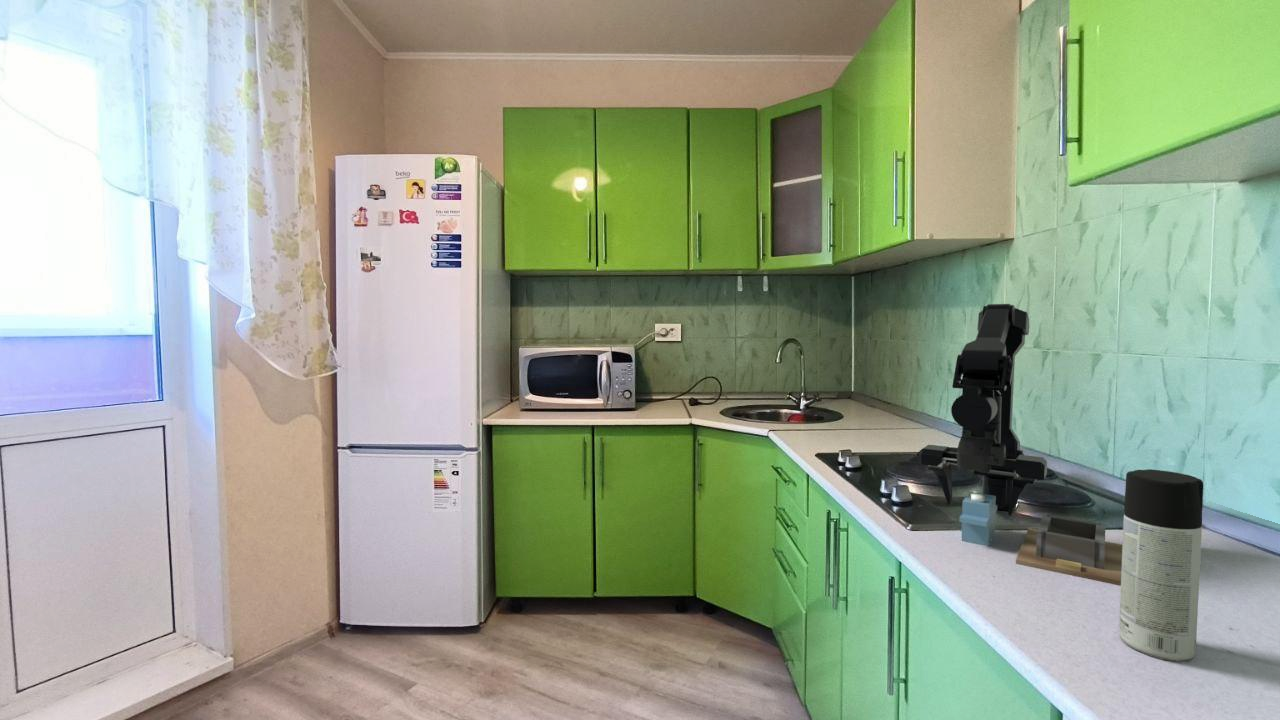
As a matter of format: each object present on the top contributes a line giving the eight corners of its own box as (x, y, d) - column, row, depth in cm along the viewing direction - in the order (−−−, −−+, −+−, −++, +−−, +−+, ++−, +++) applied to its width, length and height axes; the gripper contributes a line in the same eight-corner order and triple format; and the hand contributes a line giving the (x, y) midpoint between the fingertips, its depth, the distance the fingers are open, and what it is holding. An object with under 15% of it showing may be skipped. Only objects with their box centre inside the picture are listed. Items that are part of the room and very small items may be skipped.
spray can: (1211, 657, 65) (1220, 480, 64) (1168, 668, 63) (1177, 485, 62) (1144, 628, 71) (1151, 466, 70) (1103, 636, 69) (1110, 470, 68)
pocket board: (1028, 531, 105) (1029, 506, 104) (1122, 548, 97) (1123, 521, 96) (1015, 563, 91) (1016, 534, 90) (1124, 586, 83) (1125, 554, 82)
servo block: (971, 526, 107) (972, 483, 107) (996, 531, 105) (997, 487, 105) (958, 545, 98) (959, 498, 98) (986, 550, 96) (987, 502, 96)
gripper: (911, 422, 100) (909, 511, 101) (1042, 433, 89) (1039, 534, 89) (927, 414, 109) (925, 496, 110) (1048, 424, 97) (1045, 516, 98)
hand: (979, 509), depth 102 cm, fingers open, 9 cm apart
